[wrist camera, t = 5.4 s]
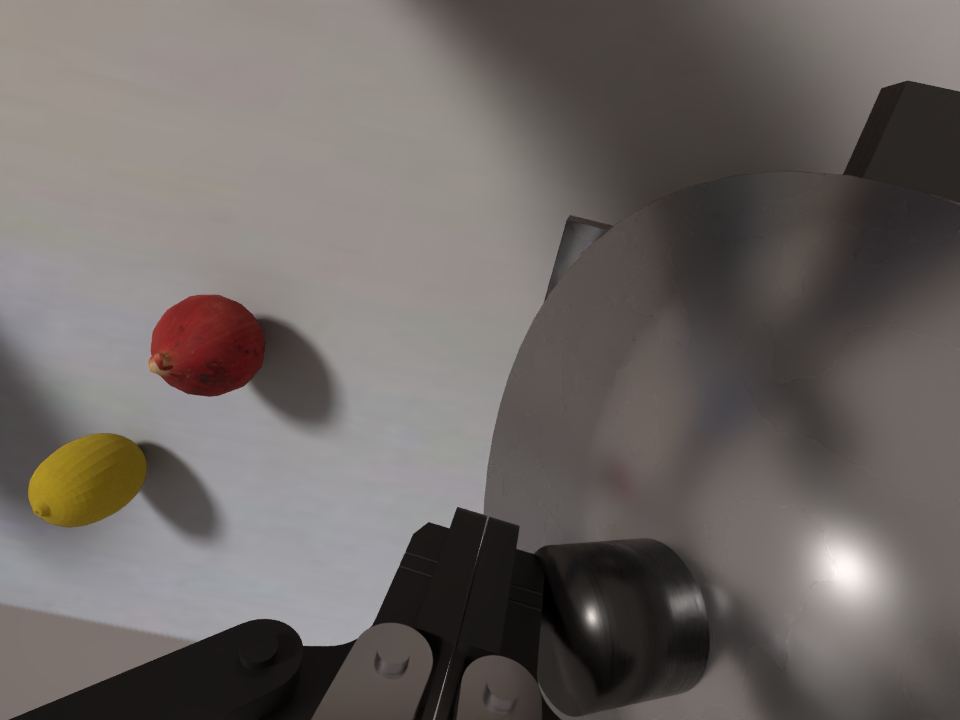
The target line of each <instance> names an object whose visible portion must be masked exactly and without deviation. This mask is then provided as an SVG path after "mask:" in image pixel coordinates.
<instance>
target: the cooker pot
mask: <svg viewBox="0 0 960 720" xmlns="http://www.w3.org/2000/svg"><path fill="white" fill-rule="evenodd" d="M843 175H849V176H855V177H859V178H863V179H868V180H872V181H876V182H881V183H885V184H889V185H894V186H898V187H902V188H907V189H911V190H915V191H920V192H924V193H928V194H931V195H934V196H938V197H941V198H944V199H947V200H951V201H954V202H957V203H960V92H959V91H954V90H950V89H945V88H940V87H935V86H931V85H926V84H921V83H916V82H912V81H905V82H901V83H898V84H895V85H891V86H888V87H884V88H881V91H880V93H879V95H878V97H877V100H876V102H875V104H874V106H873V109H872V111H871V113H870V115H869V118H868V120H867V122H866V124H865V127H864V129H863V131H862V133H861V136H860V138H859V140H858V142H857V145H856V147H855V149H854V151H853V153H852V156H851V158H850V160H849V162H848V165H847V167H846V169H845V171H844V174H843ZM612 227H614V226H611V225H607V224H603V223H599V222H595V221H591V220H587V219H583V218H579V217H575V216H572V215H570V216H569V217H568V219H567V221H566V225H565V229H564V232H563V236H562V239H561V243H560V247H559V250H558V254H557V257H556V261H555V265H554V268H553V272H552V275H551V279H550V283H549V286H548V290H547V293H546V297H545V300H546V299H547V297H548V295H549V294H550V292H551V291H552V290H553V288H554V287H555V286H556V284H557V283H558V282H559V281H560V279H561V278H562V277H563V275H564V274H565V273H566V271H567V270H568V269H569V268H570V267H571V266H572V264H573V263H574V262H575V261H576V260H577V259H578V258H579V257H580V256H581V255H582V254H583V253H584V252H585V251H586V250H587V249H588V248H589V247H590V246H591V245H592V244H593V243H594V242H595V241H597V240H598V239H599V238H600V237H601V236H603V235H604V234H605V233H606V232H608V231H609V230H610V229H611V228H612ZM544 302H545V301H544Z"/></svg>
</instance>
